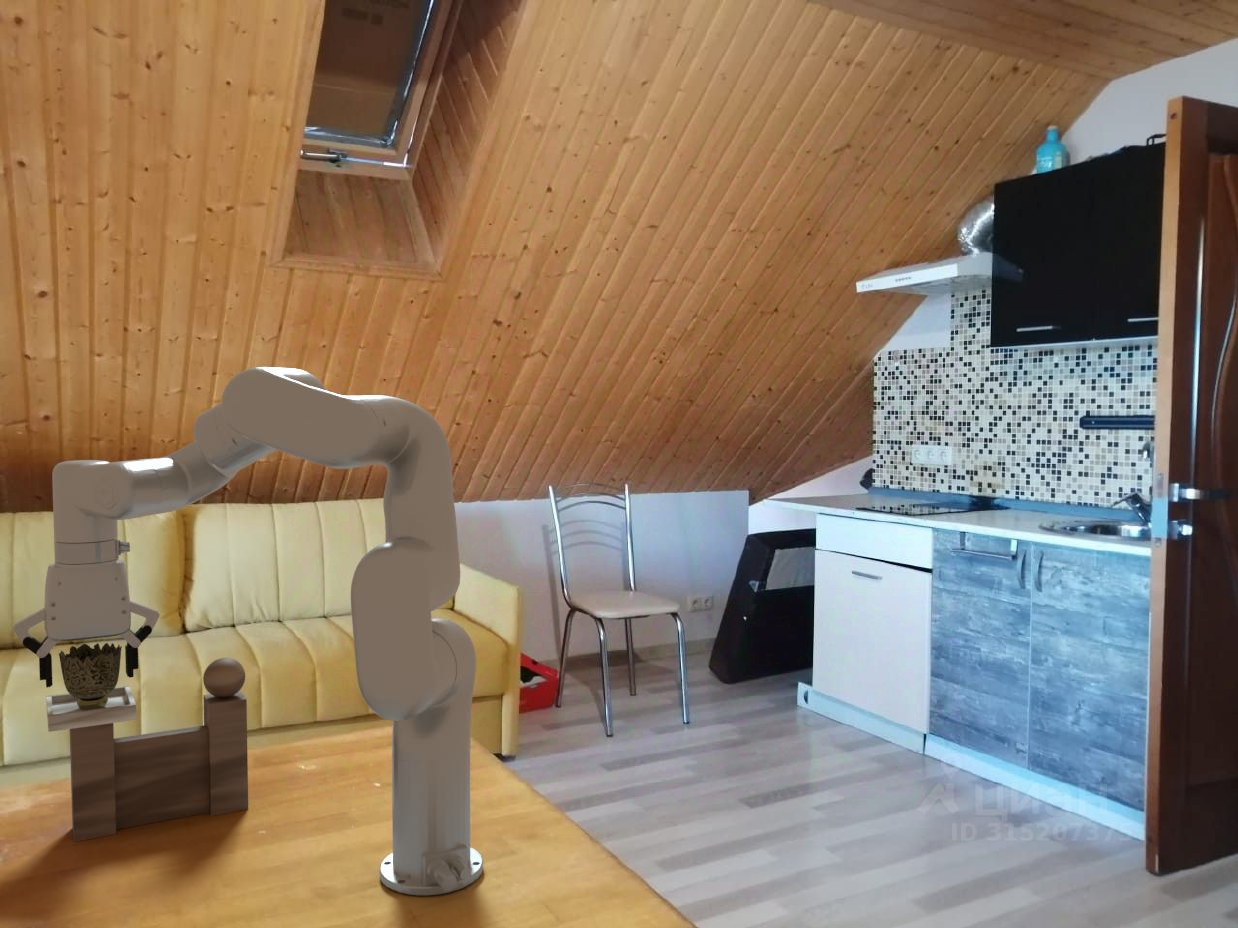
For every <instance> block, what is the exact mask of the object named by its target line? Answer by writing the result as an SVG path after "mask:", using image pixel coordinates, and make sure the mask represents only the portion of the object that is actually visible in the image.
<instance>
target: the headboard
mask: <svg viewBox="0 0 1238 928" xmlns="http://www.w3.org/2000/svg"><path fill="white" fill-rule="evenodd" d="M245 682H246V671H245V669H244V666H243V665H242V664H241V663H240V662H239V661H238V660H236V659H235V658H231V657H220V658H218V659H215V660H213V661H212V662H210V663H209V665H208V666H207V667H206V668H205V670H204V672H203V685H204V688H205V689H206V691H207V692H208V693H209V694H203V698H202V699H203V725H198V726H191V727H190V726H189V727H185V728H177V729H170V730H164V731H158V732H157V731H156V732H151V733H143V734H137V735H129V736H124V737H115V736H114V735H115V734H114V731H115V730H114V724H116V723H122V722H123V723H124V722H129V721H137V720H138V719H137V717H138V716H137V704H136V700H135V698H134V696H133V693H132V690H131V687H130V685H126V686H115V688H114V689H113V691H111V692H110V693H109V694H107V695H106V696H107V698H108V702H107V704H106V705H105V706H104V707H102V708H99V709H92V710H82V709H80V708H79V707H78V705H77V701H78V699H79V698H75V697H73V696H72V695H70V694H69V692H67V693H60V694H59V693H58V694H52V695H50V694H49V695H45V696H46V719H47V729H48V733H51V732H57V731H58V732H59V731H64V730H69V745H70V746H69V750H70V751H69V753H70V754H69V755H70V757H69V758H70V759H69V760H70V780H71V781H70V786H71V787H70V788H71V789H70V791H71V793H70V794H71V819H72V820H71V821H72V822H71V823H72V825H71V826H72V828H71V829H72V834H73V835H72V836H73V842H74V843H75V842H81V841H86V840H91V839H96V838H101V837H107V836H112V835H117V831H118V830H121V829H122V830H123V829H127V828H132V827H137V826H143V825H148V824H154V823H160V822H164V821H169V820H174V819H180V818H185V817H186V818H187V817H192V816H196V815H200V814H207V813H209V814H210V817H212V816H218V815H223V814H228V813H234V812H239V811H240V812H241V811H244V810H249V775H248V774H249V772H248V769H249V767H248V766H249V765H248V713H247V712H248V711H247V710H248V707H247V706H248V705H247V701H248V700H247V698H246V696H245V695H244V693H243V692H242V691H241V690H242V688H243V686H244V684H245Z"/></svg>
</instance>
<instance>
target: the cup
mask: <svg viewBox="0 0 1238 928" xmlns="http://www.w3.org/2000/svg"><path fill="white" fill-rule="evenodd" d="M122 648H123V647H122V646H120V644H118V645H117V647H115V644H114V643H113V642H112V643H111V644H110V645H109V643H108V642H106V643H104V644H103V645H102V647H100V644H99V643H96V644H94V645H93V647H91V646H90V645H89V644H86V643H83V644H81V645H80V646H78V647H76V646H74V645H72V646H70V647H69V653H67V652H66V653H65V651H64V650H63V651H62V650H60V652H58V656H59V662H60V663H59V664H60V668H61V673H62V674H61V675H62V679H63V683H64V686H65V688H66V691H67V693H69V694H70V695H72V696H73V697H75V698H79V699H78V701H77V705H78V707H79V708H80V709H82V710H92V709H99V708H102V707H104V706H105V705H106V704H107V702H108V698H107V696H106V695H107V694H109V693H110V692H111V691H113V689H114V688H115V687H117V685H118V684H117V683H118V682H119V677H120V676H119V675H120V671H121V670H120V669H121V668H120V667H121V657H122Z"/></svg>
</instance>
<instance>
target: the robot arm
mask: <svg viewBox="0 0 1238 928" xmlns="http://www.w3.org/2000/svg"><path fill="white" fill-rule="evenodd" d="M192 429H193V438H194V441H192V442H190V443H188V444H186V445H185V446H184V447H181V448H180V449H178V450H175V451H174V452H172V453H170V454H168V455H165V456H162V457H154V458H143V459H132V460H124V461H123V460H122V461H121V460H120V461H111V462H109V461H106V460H99V459H98V460H97V459H89V460H88V459H85V460H84V459H81V460H80V459H79V460H78V459H77V460H75V459H74V460H66V461H61V462H59V463H57V464H56V465H55V466H54V468H53V470H52V477H51V478H52V507H53V508H52V509H53V512H52V513H53V514H52V515H53V535H54V536H53V539H54V540H53V545H54V552H53V553H54V563H51V564H48V566H47V571H46V577H45V584H44V587H45V588H44V608H42V609H40V610H38V611H36V612H34V613H32V614H30V615H29V616H27V617H25V618H23V619H21V620H19V621H18V622H15V623H14V624H13V628H12V629H13V630H12V631H13V632H14V633H15V634H16V636H17V637H18V639H19V640H20V641H21V643H22V645H23V647H25V648H26V649H28V650H29V651H31V652H32V653H33V654H35V655H36V657H38V662H39V665H38V667H39V668H38V671H39V681H45V686H46V688H51V687H53V660H52V659H53V657H52V653H50V652H51V651H52V649H53V648H55V646H56V645H57V644H58V643H59V642H71V641H73V642H74V641H82V640H84V641H85V640H93V639H100V638H101V639H102V638H112V637H117V636H120V637H121V638H122V639H123V640H125V642H126V645H125V646H124V655H125V658H124V659H125V674H126V676H127V678H134V670H139V647H140V646H141V644H142V643H143V642H144V641H145V640H146V639H147V637H149V636H150V635H151V634H152V632H153V629H154V627H155V626H156V624H157V622H158V620H159V618H160V616H161V615H160V612H159V611H158V610H156V609H153V608H152V607H151V608H150V607H149V606H145V605H142V604H140V603H137V602H134V601H132V600H131V598H130V597H131V596H130V588H129V582H128V581H129V580H128V575H127V569H126V565H125V561H124V559H119V558H120V556H121V554H124V553H130V551H131V544H130V541H128V542H127V541H126V542H125V541H121V540H120V539H119V538H118V536H119V535H118V534H119V533H118V521H123V520H131V519H136V518H137V519H139V518H142V517H147V516H148V517H149V516H153V515H160V514H167V513H172V512H175V511H178V510H181V509H183V508H185V507H188V506H189V505H192V504H193V503H196V502H197V501H200V500H201V499H203V498H204V497H207V496H209V495H211V494H212V493H214V492H216V491H218V490H219V489H221V488H222V487H224V486H225V485H227V484H228V483H229V482H230V481H231V480H232V479H233V478H235V476H236V475H237V474H238V472H239V471H241V470H242V469H244V468H246V467H248V466H250V465H252V464H254V463H256V462H257V461H259V460H261V459H263V458H265V457H267V456H269V455H271V454H272V453H274V452H277V451H279V452H281V453H284V454H287V455H290V456H293V457H296V458H299V459H301V460H305V461H307V462H309V463H313V464H316V465H319V466H323V467H326V468H330V469H331V468H332V469H336V470H337V469H339V470H348V469H349V470H350V469H356V468H363V467H369V466H371V467H372V466H375V465H381V466H384V467H385V468H386V472H387V477H386V480H385V481H386V482H385V486H384V492H383V500H382V501H383V503H382V504H383V505H382V506H383V514H384V523H385V524H384V526H385V528H384V529H385V541H384V543H382V544H379V545H377V546H374V547H373V548H372V549H370V550H369V551H368V552H367V553H365V554H364V555H363V557H361V559H360V561H359V562H358V563H357V566H356V567H355V569H354V572H353V577H352V579H351V580H352V581H351V586H350V607H351V608H350V609H351V610H350V612H351V622H352V633H353V635H352V636H353V645H354V647H353V648H354V649H353V650H354V656H355V657H354V659H355V671H356V679H357V684H358V688H359V691H360V693H361V697H362V699H363V700H364V701H365V703H366V705H367V706H368V708H369V709H370V710H371V711H372V712H373V713H374V714H375V715H377V716H378V717H380V718H381V719H384V720H388V721H391V722H393V723H392V736H391V779H392V780H391V789H392V792H391V794H392V795H391V796H392V798H391V800H392V801H391V802H392V804H391V805H392V807H391V808H392V815H391V817H392V852H391V853H390V854H389V855H387V856H386V857H385V858H384V859H383V860H382V862H381V864H380V866H379V877H380V881H381V883H383V885H384V886H385V887H387V888H389V889H391V890H392V891H395V892H397V893H399V894H404V895H408V896H409V895H411V896H435V895H436V896H437V895H443V894H448V893H449V894H450V893H452V892H455V891H459V890H460V889H461V890H462V889H463V888H466V887H467V886H470V885H471V884H473V883H474V882H476V881H477V879H479V878H480V876H481V875H482V872H483V870H484V869H483V868H484V859H483V856H482V855H481V853H480V852H478V851H477V850H475V848H473V847H471V748H472V747H471V738H472V737H471V734H472V733H471V729H472V727H471V722H472V721H471V720H472V704H473V697H474V688H475V682H476V681H475V680H476V672H477V658H476V657H477V656H476V650H475V647H474V644H473V641H472V638H471V637H470V635H469V634H468V632H467V631H466V630H465V629H464V628H463V627H462V626H461V625H459V624H458V623H456V621H455V622H454V621H452V620H451V619H450V620H449V619H446V618H441V617H440V618H439V617H438V618H436V617H435V618H432V612H433V611H435V610H437V609H439V608H441V607H442V606H445V604H448V602H450V601H451V600H452V598H453V597H455V596H456V594H457V591H458V590H459V587H460V583H461V565H460V564H461V563H460V552H459V542H458V541H459V540H458V528H457V526H458V525H457V515H456V509H455V498H454V482H453V467H452V466H453V465H452V463H453V462H452V456H451V449H450V444H449V441H448V439H447V435H446V433H445V431H444V430H443V428H442V426H441V425H440V423H439V422H438V421H437V420H436V419H435V418H434V416H433V415H432V414H430V413H429V412H428V411H427V410H426V409H424V408H422V407H421V406H419V405H417V404H415V403H414V402H411V401H408V400H406V399H402V398H399V397H395V396H389V395H379V394H378V395H377V394H375V395H369V394H368V395H367V394H366V395H342V394H339V393H338V394H337V393H335V392H331V391H328V390H327V389H326V387H325V385H324V384H323V382H322V381H321V380H320V379H319V378H318V377H316V376H315V375H313V374H312V373H309V372H308V371H305V370H302V369H299V368H291V367H290V368H289V367H272V366H269V367H268V366H259V367H257V366H256V367H251V368H247V369H245V370H243V371H241V372H239V373H237V374H236V375H234V376H233V378H231V379H230V380H229V382H228V383H227V384H226V386H225V388H224V390H223V392H222V396H221V402H220V403H218V404H217V405H215V406H213V407H211V408H208V409H207V410H206V411H203V412H202V413H200V414H199V415H198V416H197V418H196V419H195V421H194V424H193V428H192ZM132 613H133V614H134V615H137V616H138V615H139V616H140V617H143V618H145V619H144V623H143V624H142V625H141V627H140V628H138V629H137V631H136V632H134V631H132V630H131V627H132ZM42 622H44V631H45V632H46V635H45V637H44V638H43V639H42V640H41V641H38V640H37V639H36V638H35V637H34V636H33V635H32V634H31V633H30V632H29V629H31V628H33V627H34V626H36V625H38V624H40V623H42Z"/></svg>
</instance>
